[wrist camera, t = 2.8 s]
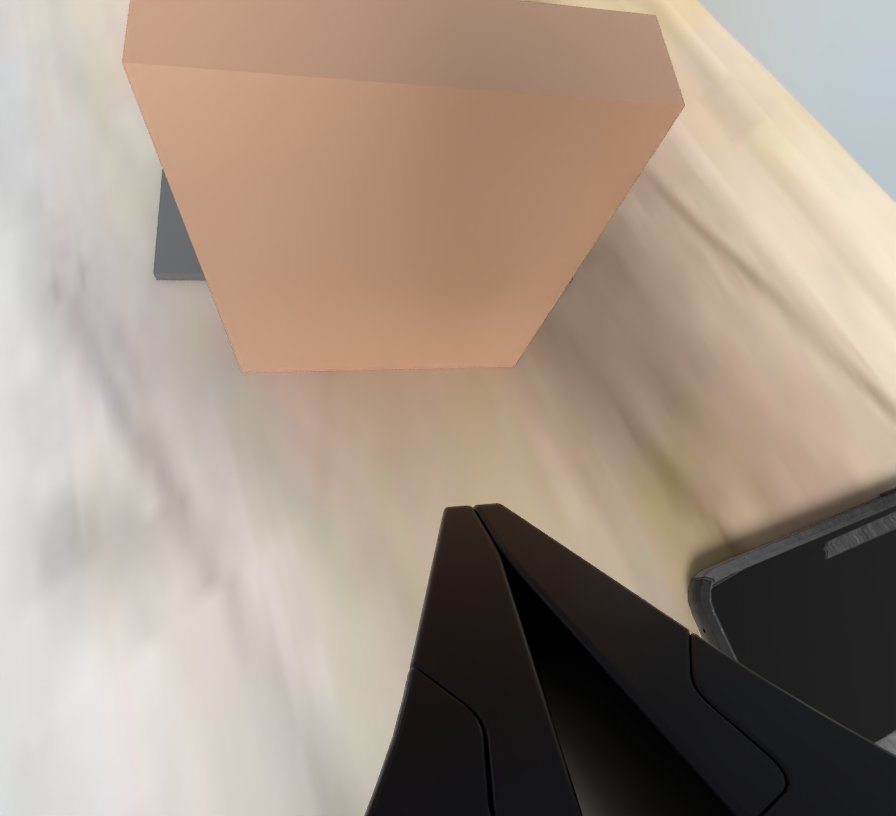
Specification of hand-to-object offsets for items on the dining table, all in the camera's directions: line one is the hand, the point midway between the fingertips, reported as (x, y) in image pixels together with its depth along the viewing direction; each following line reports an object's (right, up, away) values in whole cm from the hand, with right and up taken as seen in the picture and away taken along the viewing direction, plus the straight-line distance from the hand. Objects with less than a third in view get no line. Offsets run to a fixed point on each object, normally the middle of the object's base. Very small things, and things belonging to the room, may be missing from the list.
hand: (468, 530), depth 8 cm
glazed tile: (-3, +4, +13) cm, 14 cm away
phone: (+16, -6, +13) cm, 21 cm away
